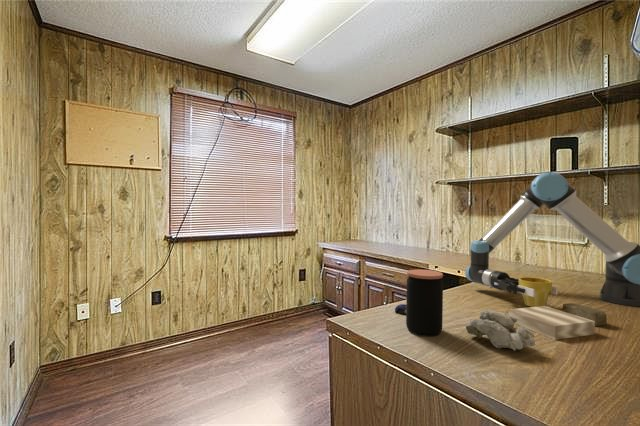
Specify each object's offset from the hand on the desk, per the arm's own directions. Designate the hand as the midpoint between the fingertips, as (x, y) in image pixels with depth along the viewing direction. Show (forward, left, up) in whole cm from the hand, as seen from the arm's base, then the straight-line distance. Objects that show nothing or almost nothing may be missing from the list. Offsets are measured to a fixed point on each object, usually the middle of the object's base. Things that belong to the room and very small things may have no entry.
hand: (545, 292), depth 117 cm
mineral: (+38, +18, -8) cm, 43 cm away
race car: (+48, -12, -9) cm, 50 cm away
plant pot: (0, -4, -6) cm, 8 cm away
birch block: (+12, +11, -8) cm, 18 cm away
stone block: (-6, +9, -8) cm, 13 cm away
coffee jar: (+53, +3, -8) cm, 54 cm away
